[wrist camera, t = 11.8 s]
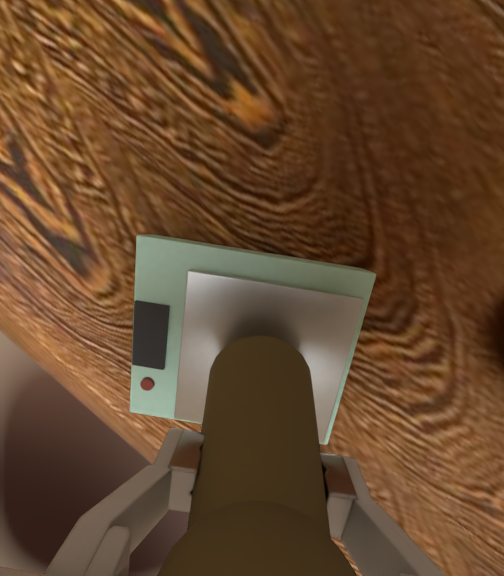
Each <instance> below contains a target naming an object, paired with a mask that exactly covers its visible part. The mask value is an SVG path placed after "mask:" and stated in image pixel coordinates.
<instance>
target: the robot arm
mask: <svg viewBox="0 0 504 576" xmlns="http://www.w3.org/2000/svg"><path fill="white" fill-rule="evenodd" d="M204 438H205V435H204V433H199V432H194V431H189V430H183V429H178V428H173V427H171V428H170V430H169V431H168V433H167V435H166V438H165V440H164V442H163V444H162V446H161V448H160V450H159V452H158V455H157V457H156V459H155V461H154V463H153V465H148V466H147V467H145V468H144V469H143V470H141V471H140V472H139V473H138V474H136V475H135V476H133V477H132V478H131V479H129V480H128V481H127V482H126V483H124V484H123V485H122V486H120V487H119V488H118V489H117V490H115V491H114V492H113V493H112V494H110V495H109V496H107V497H106V498H105V499H103V500H102V501H101V502H99V503H98V504H97V505H96V506H94V507H93V508H92V509H90V510H89V511H88V512H86V513H85V514H84V515H82V516H81V517H80V518H79V520H78V521H77V523H76V524H75V526H74V528H73V529H72V531H71V532H70V534H69V535H68V537H67V539H66V540H65V542H64V543H63V545H62V546H61V548H60V549H59V551H58V552H57V554H56V556H55V557H54V559H53V560H52V562H51V564H50V565H49V567H48V568H47V570H46V571H45V573H44V574H40V573H34V572H29V571H23V570H17V569H11V568H5V567H0V576H128V574H129V558H130V556H129V555H130V554H131V553H132V552H133V550H134V549H135V548H136V547H137V546H138V544H140V542H141V541H142V540H143V539H144V538H145V537H146V535H147V534H148V533H149V532H150V531H151V530H152V529H153V527H154V526H155V525H156V524H157V523H158V522H159V521H160V519H161V518H162V517H163V516H164V515H165V514H166V512H167V511H168V509H169V510H176V511H184V512H190V507H191V500H192V493H193V486H194V484H195V482H196V479H197V475H198V470H199V466H200V462H201V457H202V452H201V450H202V447H203V444H204ZM320 456H321V464H322V471H323V480H324V488H325V495H326V503H327V511H328V519H329V528H330V536H332V537H337V538H341V541H342V543H343V544H344V546H345V547H346V549H347V551H348V552H349V554H350V556H351V557H352V559H353V560H354V562H355V564H356V565H357V567H358V569H359V570H360V572H361V573H362V575H363V576H446V575H445V574H444V573H443V572H442V571H441V570H440V569H439V568H438V567H437V566H436V564H435V563H434V562H433V561H432V560H431V559H430V558H429V557H428V556H427V555H426V554H425V553H424V552H423V551H422V550H421V548H420V547H419V546H418V545H417V544H416V543H415V542H414V541H413V540H412V539H411V538H410V537H409V536H408V535H407V534H406V532H405V531H404V530H403V529H402V528H401V527H400V526H399V525H398V524H397V523H396V522H395V521H394V520H393V519H392V518H391V517H390V515H389V514H388V513H387V512H386V511H385V510H384V509H383V508H382V507H381V506H380V505H379V504H378V503H374V501H373V499H372V496H371V494H370V492H369V489H368V487H367V485H366V482H365V480H364V477H363V475H362V473H361V470H360V468H359V466H358V463H357V461H356V459H355V458H352V457H346V456H340V455H333V454H327V453H320Z"/></svg>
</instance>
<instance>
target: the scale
mask: <svg viewBox="0 0 504 576" xmlns="http://www.w3.org/2000/svg"><path fill="white" fill-rule="evenodd" d="M190 269H194V270H200V271H206V272H212V273H218V274H224V275H230V276H236V277H243V278H249V279H255V280H261V281H267V282H273V283H279V284H286V285H292V286H298V287H304V288H310V289H316V290H322V291H328V292H335V293H341V294H347V295H353V296H359V297H362V298H363V299H364V303H363V306H362V310H361V313H360V317H359V320H358V324H357V328H356V331H355V335H354V338H353V342H352V345H351V349H350V352H349V356H348V359H347V363H346V366H345V370H344V373H343V377H342V381H341V384H340V388H339V391H338V395H337V398H336V402H335V405H334V409H333V412H332V416H331V419H330V423H329V426H328V430H327V433H326V437H325V441H324V443H319V444H325V445H327V444H328V441H329V437H330V434H331V430H332V427H333V424H334V420H335V417H336V413H337V410H338V406H339V403H340V399H341V396H342V392H343V389H344V385H345V382H346V378H347V375H348V371H349V368H350V365H351V361H352V358H353V354H354V351H355V347H356V344H357V340H358V337H359V333H360V330H361V326H362V323H363V319H364V316H365V313H366V309H367V306H368V302H369V299H370V295H371V292H372V288H373V285H374V281H375V278H376V274H375V273H373V272H370V271H368V270H365V269H363V268H358V267H352V266H346V265H340V264H333V263H327V262H321V261H315V260H309V259H303V258H297V257H290V256H284V255H278V254H272V253H266V252H260V251H253V250H247V249H241V248H235V247H229V246H223V245H217V244H210V243H204V242H198V241H192V240H186V239H180V238H173V237H167V236H161V235H155V234H145V235H137V239H136V265H135V290H134V316H133V341H132V367H131V392H130V412H133V413H139V414H145V415H151V416H157V417H163V418H169V419H175V418H174V413H175V402H176V391H177V380H178V370H179V359H180V348H181V337H182V327H183V316H184V305H185V294H186V284H187V273H188V270H190ZM175 420H181V419H175ZM181 421H187V420H181ZM187 422H193V421H187ZM193 423H199V422H193ZM199 424H202V423H199Z"/></svg>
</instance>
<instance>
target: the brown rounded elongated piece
mask: <svg viewBox="0 0 504 576" xmlns="http://www.w3.org/2000/svg"><path fill="white" fill-rule="evenodd" d="M201 433H204V435H205V438H204V444H203V447H202V450H201V452H202V457H201V462H200V466H199V470H198V475H197V479H196V482H195V484H194V486H193V493H192V500H191V507H190V514H189V521H188V528H187V532H186V533H185V534H184V535H183V536H182V538H180V540H179V541H178V542H177V543H176V544H175V545H174V546H173V547H172V549H171V551H170V552H169V554H168V556H167V558H166V560H165V562H164V564H163V565H162V568H161V569H160V572H159V573H158V575H157V576H357V575H356V573H355V571H354V570H353V568H352V566H351V565H350V563H349V562H348V560H347V559H346V557H345V556H344V554H343V553H342V551H341V550H340V549H339V547H338V546H337V545H336V544H335V543H334V542H333V540H332V539H331V536H330V528H329V519H328V511H327V503H326V495H325V488H324V480H323V471H322V464H321V456H320V445H319V436H318V428H317V420H316V411H315V403H314V395H313V386H312V379H311V373H310V368H309V366H308V364H307V362H306V361H305V359H304V357H303V355H302V354H301V353H300V352H299V351H297V350H296V349H295V348H294V347H293V346H292V345H291V344H289V343H287V342H284V341H282V340H280V339H278V338H275V337H268V336H260V335H256V336H250V337H245V338H241V339H239V340H237V341H235V342H233V343H231V344H229V345H227V346H226V347H225V348H224V349H223V350H222V351H221V352H220V353H219V354H218V355H217V356H216V358H215V360H214V362H213V364H212V366H211V368H210V373H209V380H208V387H207V394H206V401H205V408H204V415H203V422H202V429H201Z"/></svg>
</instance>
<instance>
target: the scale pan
mask: <svg viewBox="0 0 504 576" xmlns="http://www.w3.org/2000/svg"><path fill="white" fill-rule="evenodd" d="M363 303H364V299H363V298H362V297H359V296H353V295H347V294H341V293H335V292H328V291H322V290H316V289H310V288H304V287H298V286H292V285H286V284H279V283H273V282H267V281H261V280H255V279H249V278H243V277H236V276H230V275H224V274H218V273H212V272H206V271H200V270H194V269H190V270H188V273H187V284H186V294H185V305H184V316H183V327H182V337H181V348H180V359H179V370H178V380H177V391H176V402H175V413H174V418H175V419H181V420H187V421H193V422H199V423H202V422H203V415H204V408H205V401H206V394H207V387H208V380H209V373H210V368H211V366H212V364H213V362H214V360H215V358H216V356H217V355H218V354H219V353H220V352H221V351H222V350H223V349H224V348H225V347H226V346H227V345H229V344H231V343H233V342H235V341H237V340H239V339H241V338H245V337H250V336H256V335H260V336H268V337H275V338H278V339H280V340H282V341H284V342H287V343H289V344H291V345H292V346H293V347H294V348H295V349H296V350H297V351H299V352H300V353H301V354H302V355H303V357H304V359H305V361H306V362H307V364H308V366H309V368H310V373H311V379H312V386H313V395H314V403H315V411H316V420H317V428H318V436H319V443H324V441H325V437H326V433H327V430H328V426H329V423H330V419H331V416H332V412H333V409H334V405H335V402H336V398H337V395H338V391H339V388H340V384H341V381H342V377H343V373H344V370H345V366H346V363H347V359H348V356H349V352H350V349H351V345H352V342H353V338H354V335H355V331H356V328H357V324H358V320H359V317H360V313H361V310H362V306H363Z"/></svg>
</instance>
